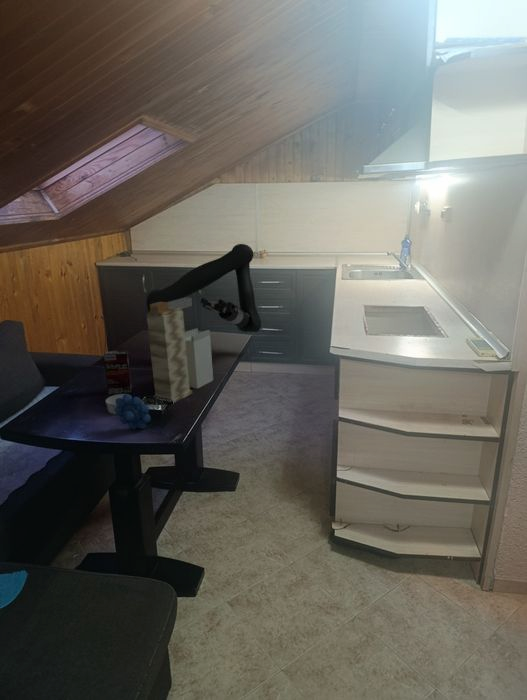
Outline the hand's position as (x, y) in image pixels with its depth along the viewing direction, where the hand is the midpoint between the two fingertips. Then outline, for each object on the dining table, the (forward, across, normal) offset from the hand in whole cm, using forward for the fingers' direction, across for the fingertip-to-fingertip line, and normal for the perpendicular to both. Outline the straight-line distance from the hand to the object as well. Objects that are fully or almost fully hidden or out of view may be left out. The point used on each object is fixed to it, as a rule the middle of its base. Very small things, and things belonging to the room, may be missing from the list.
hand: (210, 300), depth 186 cm
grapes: (+30, -5, -54) cm, 62 cm away
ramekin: (+22, +11, -49) cm, 55 cm away
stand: (+6, +2, -40) cm, 40 cm away
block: (+19, +1, -10) cm, 21 cm away
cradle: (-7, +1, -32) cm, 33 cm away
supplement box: (+11, +24, -42) cm, 50 cm away
